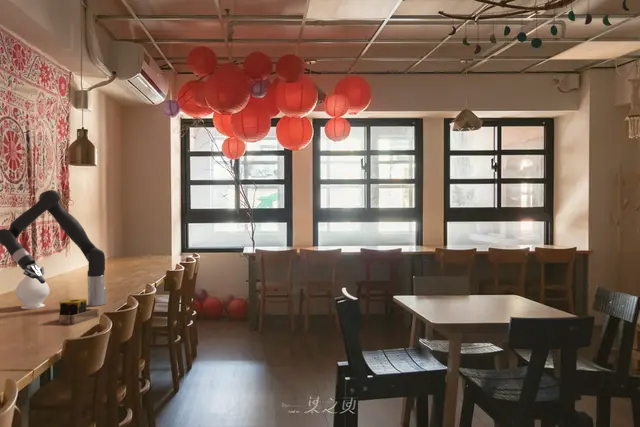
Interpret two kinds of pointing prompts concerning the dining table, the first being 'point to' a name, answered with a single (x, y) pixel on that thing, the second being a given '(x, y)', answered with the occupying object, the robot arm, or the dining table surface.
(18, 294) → the decorative vase
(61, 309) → the candle
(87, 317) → the dock
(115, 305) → the dining table surface
